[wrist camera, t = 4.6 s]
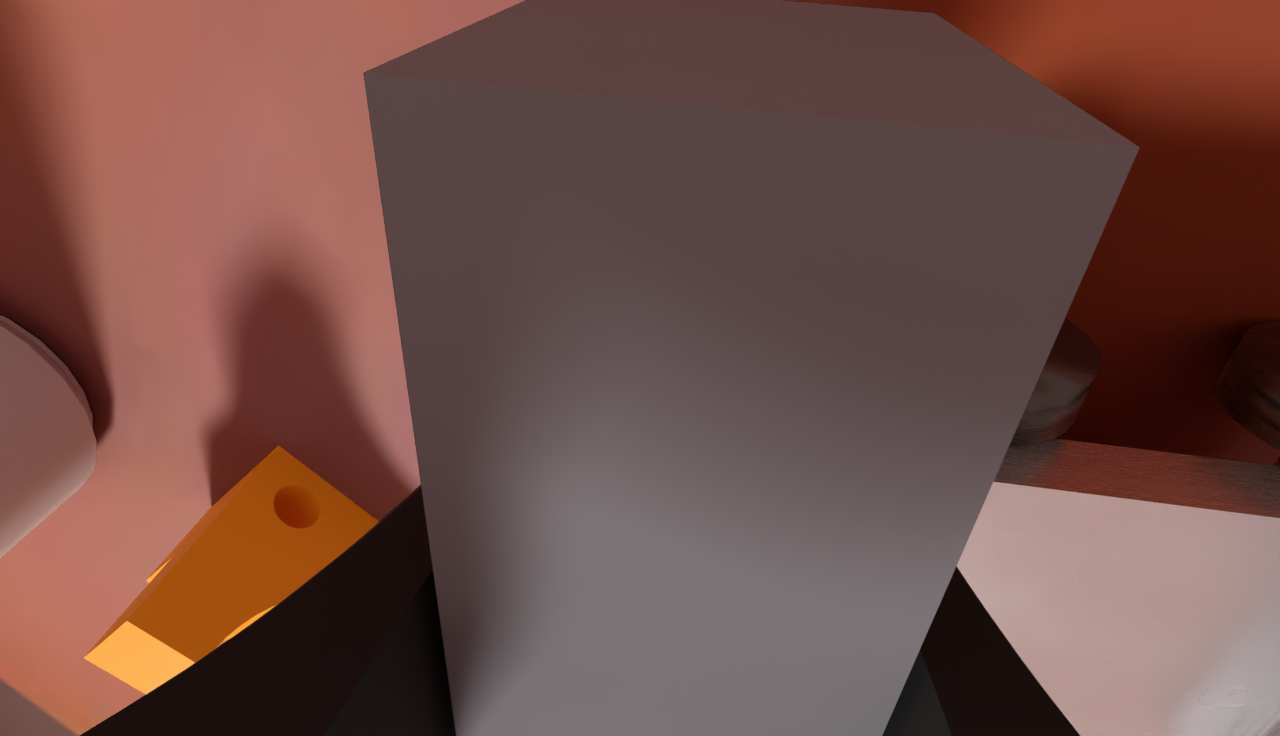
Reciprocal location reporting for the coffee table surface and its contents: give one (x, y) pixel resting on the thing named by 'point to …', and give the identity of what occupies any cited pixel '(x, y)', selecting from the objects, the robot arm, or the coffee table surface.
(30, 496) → the can
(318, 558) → the pipe clamp
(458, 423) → the block
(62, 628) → the coffee table surface
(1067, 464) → the trolley
